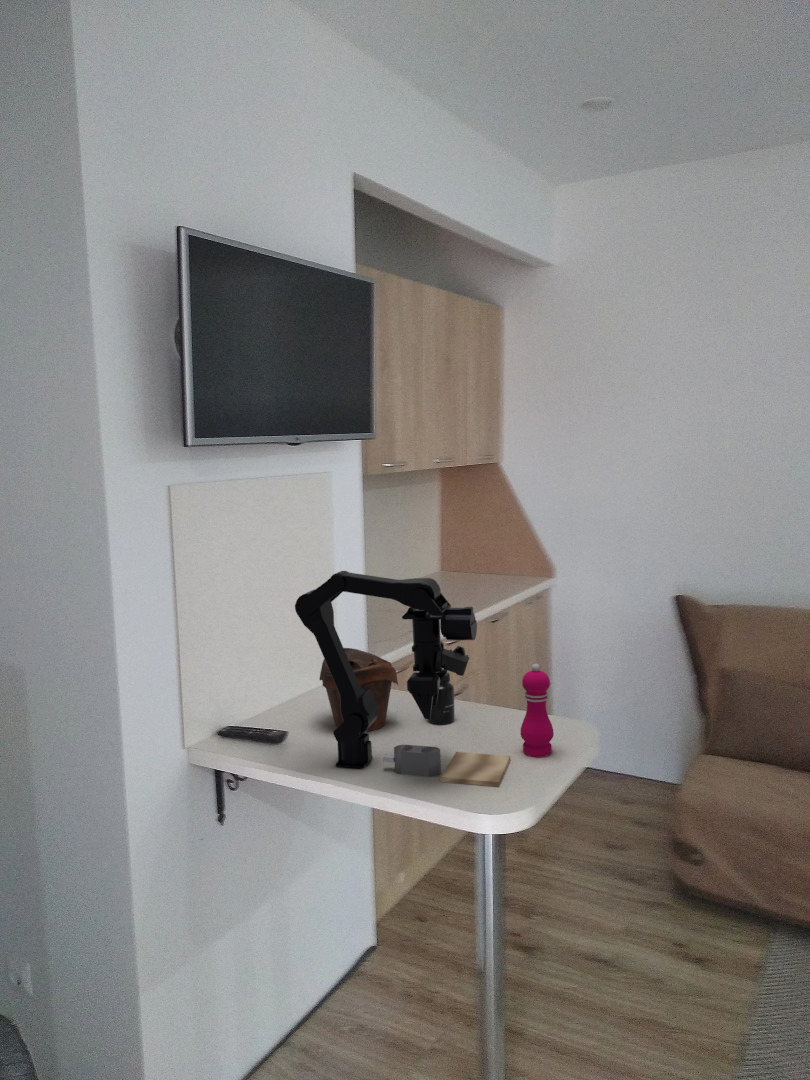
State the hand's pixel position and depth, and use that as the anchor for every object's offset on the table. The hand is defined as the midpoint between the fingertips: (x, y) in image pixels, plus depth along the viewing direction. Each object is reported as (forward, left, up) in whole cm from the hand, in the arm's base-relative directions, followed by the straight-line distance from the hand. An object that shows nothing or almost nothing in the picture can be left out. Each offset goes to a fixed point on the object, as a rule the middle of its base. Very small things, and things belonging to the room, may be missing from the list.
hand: (430, 711), depth 172 cm
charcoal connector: (-4, -2, -13) cm, 13 cm away
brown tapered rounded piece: (-25, +24, -13) cm, 37 cm away
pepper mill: (+20, +14, -13) cm, 28 cm away
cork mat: (+9, +1, -13) cm, 16 cm away
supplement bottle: (-6, +30, -13) cm, 33 cm away
